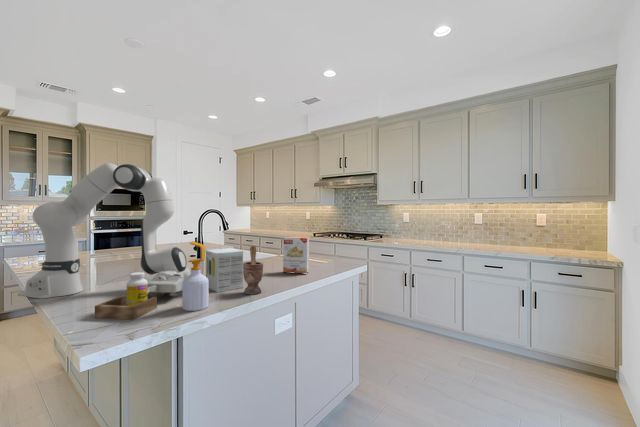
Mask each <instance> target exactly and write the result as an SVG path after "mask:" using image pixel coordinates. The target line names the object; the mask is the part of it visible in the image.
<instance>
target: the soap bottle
mask: <svg viewBox="0 0 640 427" xmlns="http://www.w3.org/2000/svg"><path fill="white" fill-rule="evenodd" d="M189 244H190V245H193V246H196V247H198V248H200V258H199V259H197V258H196V259H194V258H193V259H192V258H191V259H189V260H188V262H187V263H191V265H193V267H191V268H190V275H189V276H188V277H186V278H185V279H184V280H183V283H182V291H181V292H182V298H181V299H182V300H181V301H182V303H181V304H182V305H181V306H182V307H181V308H182V309H183V311H187V312H195V311H196V312H197V311H202V310H205V309H207V308H208V307H209V297H210V296H209V293H210V292H209V290H210V289H209V281H208V278H207V277H206V275H203V274H202V273H201V267H200V266H199V265H200V262H203V261H205V260H206V246H205V244H202V243H200V242H196V241H191V242H189Z"/></svg>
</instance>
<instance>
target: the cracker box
mask: <svg viewBox="0 0 640 427" xmlns="http://www.w3.org/2000/svg"><path fill="white" fill-rule="evenodd" d="M282 256H283V262H282V263H283V264H282V270H283V271H282V273H283V272H294V273H307V272H308V271H309V269H310V266H309V265H310V237H309V236H308V237H307V236H304V237H303V236H284V237H283V255H282ZM308 273H309V272H308ZM308 273H307V274H308Z"/></svg>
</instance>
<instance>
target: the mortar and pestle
mask: <svg viewBox="0 0 640 427" xmlns="http://www.w3.org/2000/svg"><path fill="white" fill-rule="evenodd" d="M249 252H250V261H247V262H246V261H245V262H243V280H244V282H245V283H246V284H247V287H246V288H244V291H243V293H244V294H246V295H249V294H253V295H257V294H258V293H259V294H261V293H262V289H261V287H260V286H259V283H260V282H261V281H262V278H263V274H264V273H263V272H264V262H261V261H257V258H256V257H257V247H256V245H251V246H250V248H249Z"/></svg>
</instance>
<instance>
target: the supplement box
mask: <svg viewBox="0 0 640 427" xmlns="http://www.w3.org/2000/svg"><path fill="white" fill-rule="evenodd" d="M243 263H244V251H243V250H241V249H236V248H231V247H227V248H217V249H216V248H214V249H205V277H207V278H208V281H209V290H212V291H214V292H216V293H219V292H221V293H222V292H227V291H230V290H231V291H232V290H238V289H243V288H244V275H243ZM242 287H243V288H242ZM237 288H238V289H237Z"/></svg>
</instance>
